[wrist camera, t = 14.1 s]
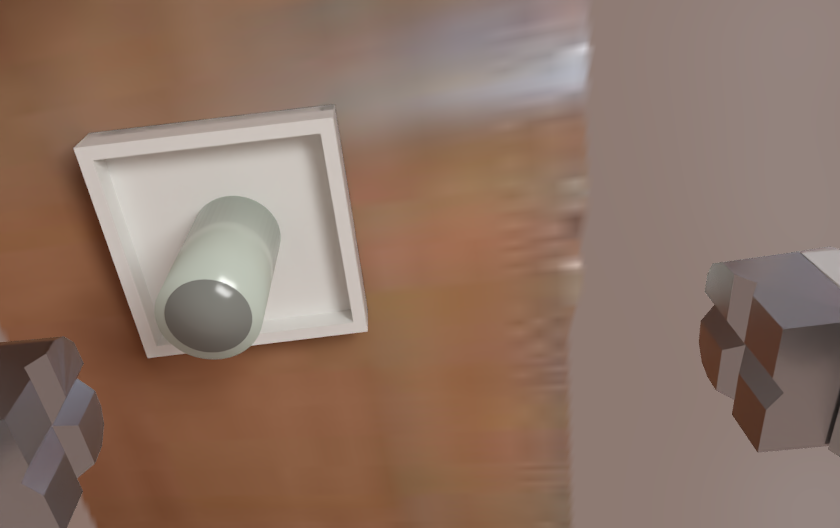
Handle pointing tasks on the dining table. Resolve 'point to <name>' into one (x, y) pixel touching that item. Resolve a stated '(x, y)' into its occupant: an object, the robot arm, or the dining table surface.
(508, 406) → the dining table surface
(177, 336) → the sage cup
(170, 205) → the grey tray
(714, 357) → the robot arm
